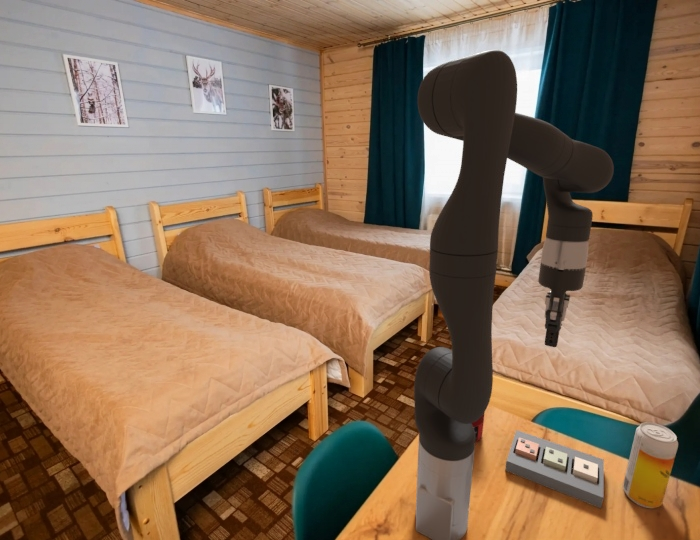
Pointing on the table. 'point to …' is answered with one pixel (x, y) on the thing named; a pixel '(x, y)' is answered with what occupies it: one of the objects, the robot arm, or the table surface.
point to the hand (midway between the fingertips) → (550, 344)
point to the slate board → (557, 470)
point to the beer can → (650, 464)
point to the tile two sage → (555, 459)
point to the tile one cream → (585, 469)
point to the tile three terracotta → (527, 449)
